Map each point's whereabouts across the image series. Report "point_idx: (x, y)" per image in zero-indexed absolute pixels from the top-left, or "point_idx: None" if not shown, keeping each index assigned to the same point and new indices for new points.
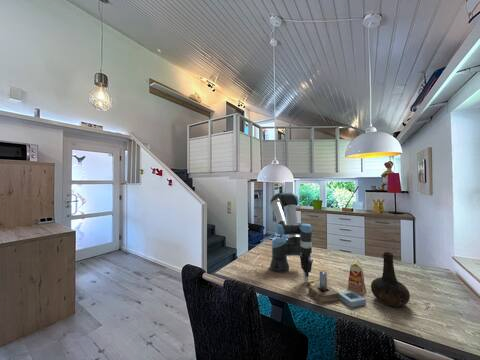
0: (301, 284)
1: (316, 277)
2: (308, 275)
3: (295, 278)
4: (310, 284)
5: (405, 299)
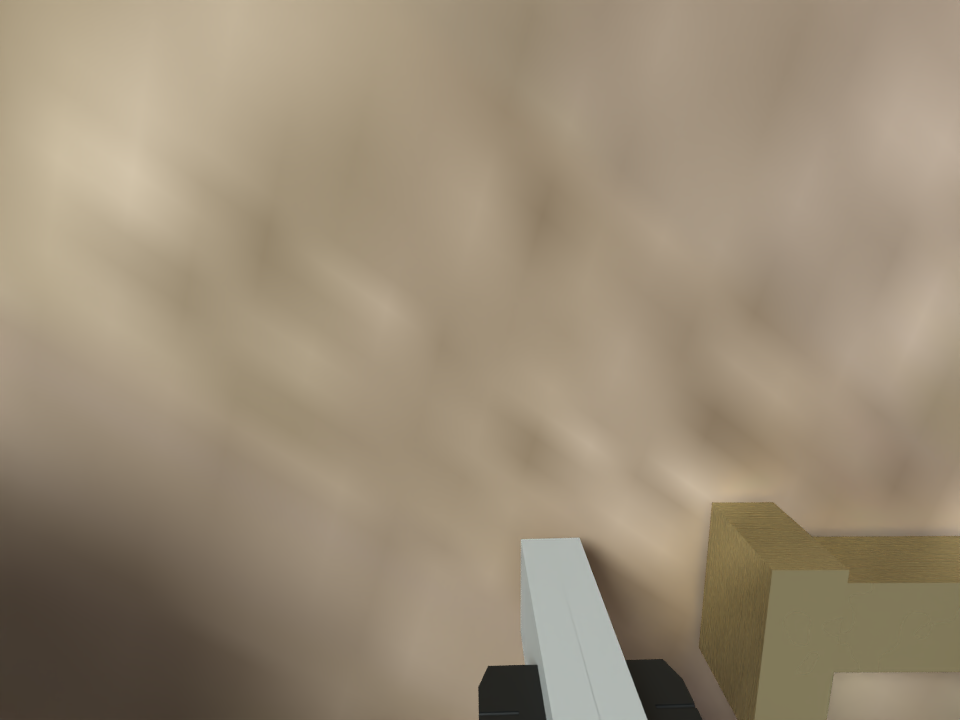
0: None
1: (380, 123)
2: (693, 705)
3: (307, 690)
4: (849, 663)
5: None
